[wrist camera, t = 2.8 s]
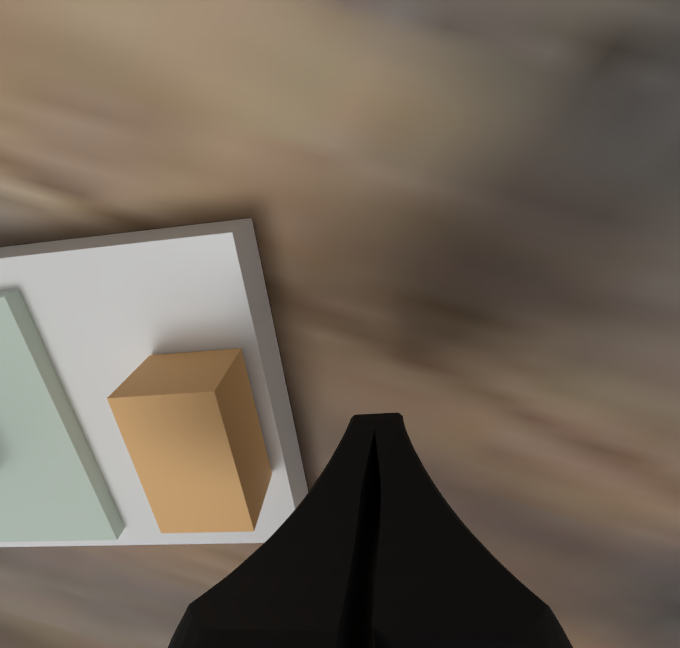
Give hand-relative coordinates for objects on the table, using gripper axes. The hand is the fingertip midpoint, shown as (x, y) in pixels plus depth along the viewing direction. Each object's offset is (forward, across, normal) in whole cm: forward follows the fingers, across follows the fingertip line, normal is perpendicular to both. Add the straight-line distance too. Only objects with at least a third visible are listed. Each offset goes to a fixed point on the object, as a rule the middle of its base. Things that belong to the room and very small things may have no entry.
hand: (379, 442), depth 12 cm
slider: (+2, +6, 0) cm, 6 cm away
